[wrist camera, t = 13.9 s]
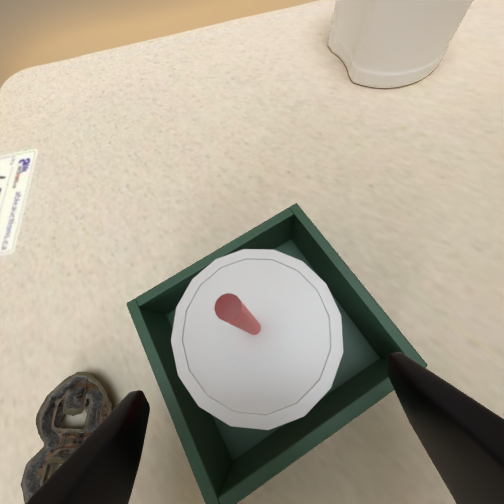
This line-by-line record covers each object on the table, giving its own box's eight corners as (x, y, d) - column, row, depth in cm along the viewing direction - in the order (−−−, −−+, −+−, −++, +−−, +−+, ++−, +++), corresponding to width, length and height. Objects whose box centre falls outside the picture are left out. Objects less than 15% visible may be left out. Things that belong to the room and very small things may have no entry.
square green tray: (230, 473, 15) (211, 522, 11) (159, 313, 19) (125, 303, 15) (390, 361, 16) (428, 365, 12) (292, 232, 20) (296, 202, 16)
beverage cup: (250, 407, 16) (119, 684, 3) (207, 321, 18) (22, 254, 5) (330, 354, 16) (526, 383, 3) (280, 277, 19) (282, 116, 6)
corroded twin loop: (23, 515, 15) (6, 526, 14) (59, 370, 18) (46, 372, 17) (101, 520, 15) (88, 532, 14) (125, 371, 18) (116, 372, 17)
